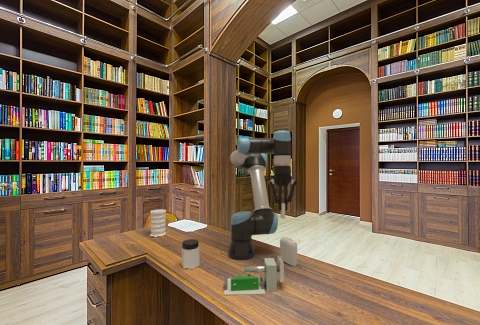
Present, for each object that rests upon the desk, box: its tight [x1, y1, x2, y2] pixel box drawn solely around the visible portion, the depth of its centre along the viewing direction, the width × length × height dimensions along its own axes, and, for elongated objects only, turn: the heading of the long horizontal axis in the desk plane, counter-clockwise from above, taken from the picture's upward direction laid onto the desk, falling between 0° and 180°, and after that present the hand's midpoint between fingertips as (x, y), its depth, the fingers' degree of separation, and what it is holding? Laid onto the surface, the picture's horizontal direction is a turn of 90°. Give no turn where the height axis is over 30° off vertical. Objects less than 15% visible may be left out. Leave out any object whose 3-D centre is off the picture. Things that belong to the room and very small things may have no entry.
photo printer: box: [279, 236, 299, 267], centre depth 113 cm, size 10×4×12 cm, turn 29°
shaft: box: [243, 255, 285, 283], centre depth 91 cm, size 6×16×8 cm, turn 91°
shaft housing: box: [263, 257, 278, 292], centre depth 91 cm, size 7×4×10 cm, turn 1°
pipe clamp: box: [230, 273, 260, 291], centre depth 89 cm, size 11×4×5 cm, turn 95°
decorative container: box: [149, 208, 167, 237], centre depth 158 cm, size 12×12×18 cm
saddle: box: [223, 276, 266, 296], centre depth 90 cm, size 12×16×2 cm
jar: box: [181, 238, 200, 270], centre depth 110 cm, size 9×8×12 cm
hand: (282, 217), depth 98 cm, fingers closed
